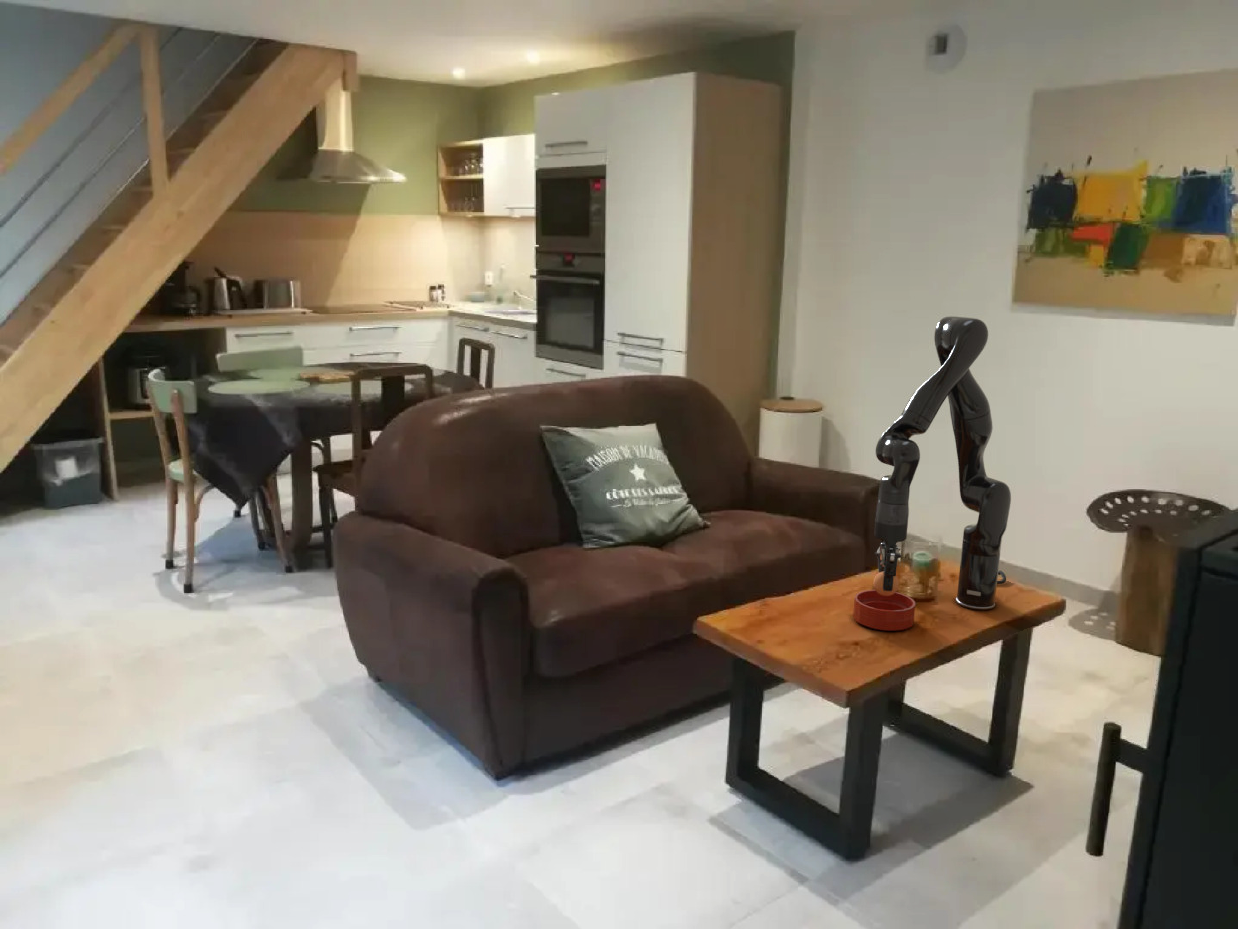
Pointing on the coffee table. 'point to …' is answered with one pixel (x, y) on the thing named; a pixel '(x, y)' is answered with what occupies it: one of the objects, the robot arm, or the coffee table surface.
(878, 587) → the peach
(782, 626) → the coffee table surface
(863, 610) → the bowl
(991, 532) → the robot arm
